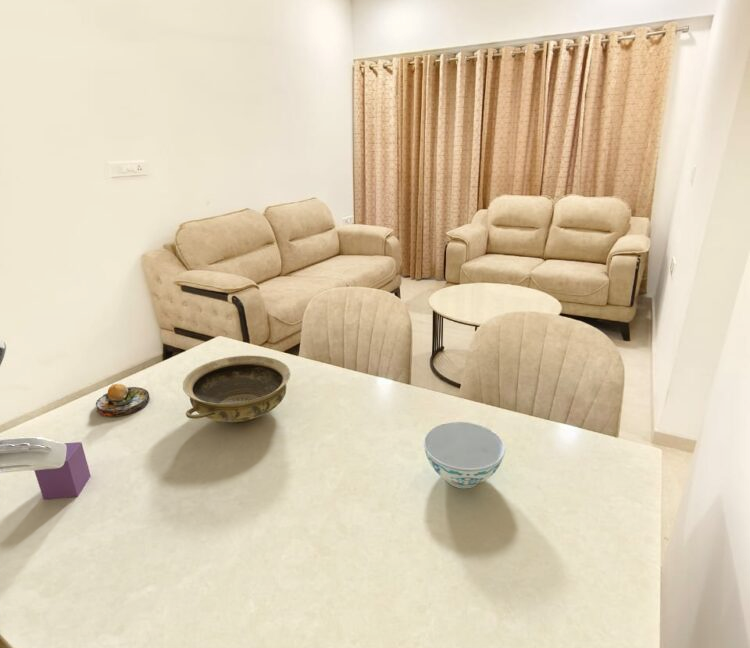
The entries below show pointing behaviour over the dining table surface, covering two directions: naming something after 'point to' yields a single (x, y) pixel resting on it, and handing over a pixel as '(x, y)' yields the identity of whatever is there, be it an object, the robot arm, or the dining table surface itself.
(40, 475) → the block
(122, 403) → the dark lid with knob
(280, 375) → the ceramic bowl
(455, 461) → the chinaware
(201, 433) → the dining table surface
